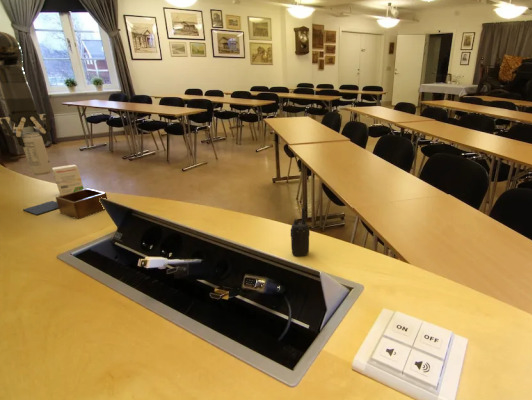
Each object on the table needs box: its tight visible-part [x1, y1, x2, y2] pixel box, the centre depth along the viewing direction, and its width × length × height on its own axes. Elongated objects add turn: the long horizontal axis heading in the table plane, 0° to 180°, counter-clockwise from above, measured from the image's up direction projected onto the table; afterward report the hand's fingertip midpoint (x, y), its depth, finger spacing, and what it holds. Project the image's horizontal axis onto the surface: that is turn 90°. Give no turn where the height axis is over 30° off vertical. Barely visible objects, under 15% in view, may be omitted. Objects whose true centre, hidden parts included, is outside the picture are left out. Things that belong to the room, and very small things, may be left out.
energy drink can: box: [20, 131, 53, 176], centre depth 117 cm, size 6×6×15 cm
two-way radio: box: [290, 206, 310, 257], centre depth 92 cm, size 6×4×15 cm
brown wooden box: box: [55, 187, 108, 220], centre depth 123 cm, size 12×12×6 cm
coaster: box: [22, 200, 59, 216], centre depth 125 cm, size 10×10×1 cm
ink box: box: [51, 164, 85, 196], centre depth 140 cm, size 8×5×12 cm, turn 134°
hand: (33, 145), depth 115 cm, fingers closed on energy drink can, 6 cm apart
